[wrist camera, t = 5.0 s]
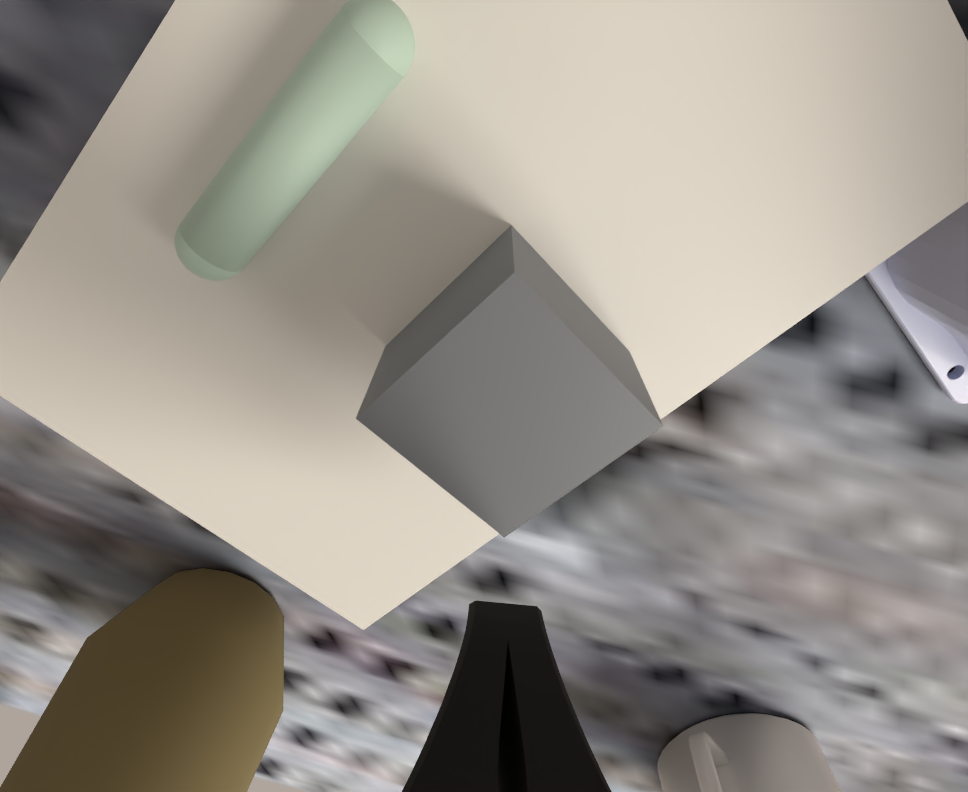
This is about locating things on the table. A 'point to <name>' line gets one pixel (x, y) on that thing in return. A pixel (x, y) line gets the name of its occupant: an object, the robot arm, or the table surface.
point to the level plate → (458, 250)
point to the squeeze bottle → (165, 695)
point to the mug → (745, 757)
